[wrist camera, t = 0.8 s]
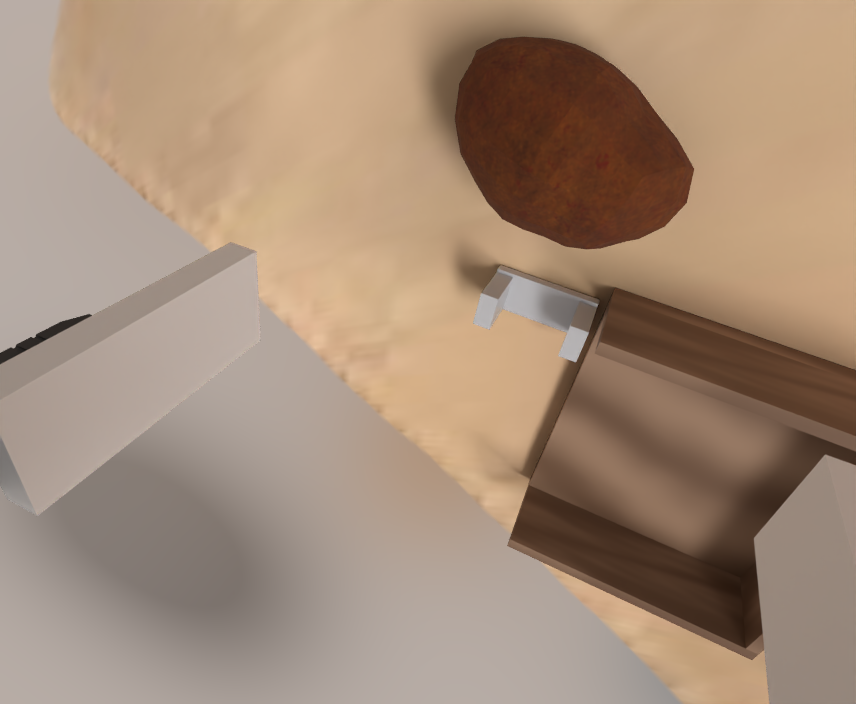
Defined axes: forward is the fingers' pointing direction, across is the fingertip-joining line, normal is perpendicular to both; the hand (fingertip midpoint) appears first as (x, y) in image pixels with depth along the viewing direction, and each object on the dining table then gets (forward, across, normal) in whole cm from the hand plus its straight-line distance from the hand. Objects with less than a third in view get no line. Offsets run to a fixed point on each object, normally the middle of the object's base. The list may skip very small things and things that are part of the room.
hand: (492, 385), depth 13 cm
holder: (+19, +10, -14) cm, 26 cm away
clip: (+19, -1, -8) cm, 21 cm away
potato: (+20, -2, +1) cm, 20 cm away
